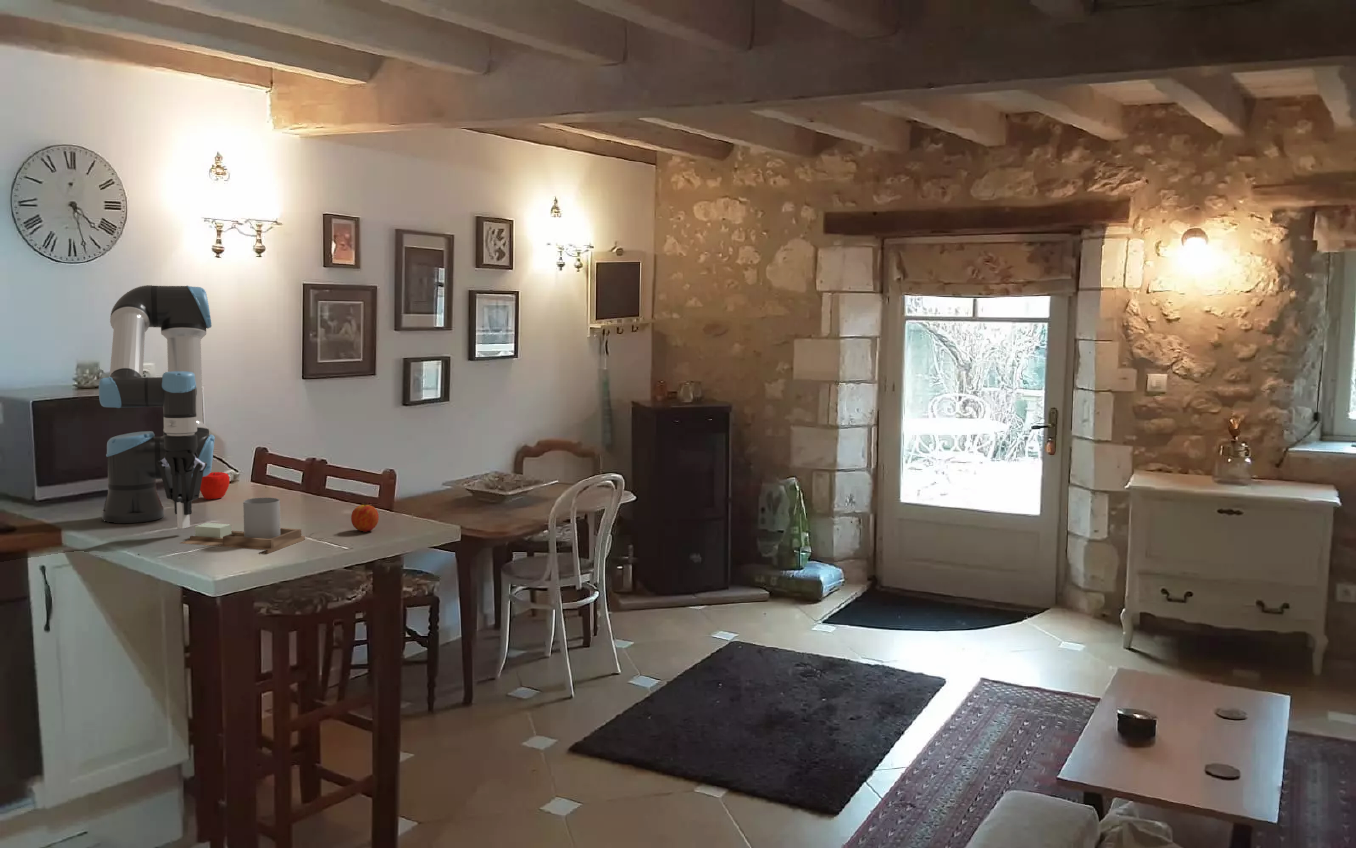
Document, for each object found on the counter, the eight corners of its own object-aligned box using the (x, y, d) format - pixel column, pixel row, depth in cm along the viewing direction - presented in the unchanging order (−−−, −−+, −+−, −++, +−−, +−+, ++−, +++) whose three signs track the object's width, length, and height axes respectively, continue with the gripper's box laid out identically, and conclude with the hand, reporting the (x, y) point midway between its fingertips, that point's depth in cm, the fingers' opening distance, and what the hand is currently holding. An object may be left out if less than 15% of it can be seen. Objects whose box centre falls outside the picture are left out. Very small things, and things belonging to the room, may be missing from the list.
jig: (179, 547, 263) (178, 535, 263) (220, 533, 279) (220, 522, 279) (267, 553, 258) (267, 541, 258) (304, 539, 274) (304, 528, 273)
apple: (222, 501, 322) (221, 475, 321) (192, 501, 322) (192, 475, 321) (235, 496, 331) (234, 471, 330) (206, 495, 331) (205, 470, 330)
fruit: (350, 529, 287) (349, 499, 286) (377, 527, 290) (376, 498, 289) (352, 534, 281) (352, 504, 280) (380, 532, 283) (379, 502, 283)
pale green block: (195, 538, 269) (194, 526, 268) (206, 534, 273) (206, 522, 273) (220, 540, 267) (219, 528, 267) (231, 536, 272) (231, 524, 271)
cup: (257, 546, 262) (256, 505, 261) (237, 541, 266) (236, 501, 265) (287, 540, 269) (286, 500, 268) (267, 535, 273) (266, 496, 272)
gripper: (147, 434, 267) (150, 528, 270) (193, 436, 264) (196, 532, 267) (168, 431, 274) (171, 523, 277) (213, 433, 271) (216, 526, 274)
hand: (183, 527), depth 272 cm, fingers closed
